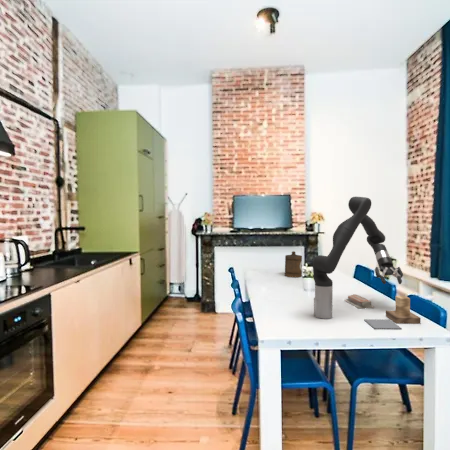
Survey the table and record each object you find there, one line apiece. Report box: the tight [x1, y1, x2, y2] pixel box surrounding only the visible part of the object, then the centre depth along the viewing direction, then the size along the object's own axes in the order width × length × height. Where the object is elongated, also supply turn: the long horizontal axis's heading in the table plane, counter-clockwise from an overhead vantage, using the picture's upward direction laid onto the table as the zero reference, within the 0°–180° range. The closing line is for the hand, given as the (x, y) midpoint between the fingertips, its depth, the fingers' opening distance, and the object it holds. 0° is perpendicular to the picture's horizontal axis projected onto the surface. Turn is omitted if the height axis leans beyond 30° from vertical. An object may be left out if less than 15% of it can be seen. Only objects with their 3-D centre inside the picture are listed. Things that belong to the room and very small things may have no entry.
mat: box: [364, 318, 402, 330], centre depth 166 cm, size 13×13×1 cm
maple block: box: [394, 295, 411, 316], centre depth 173 cm, size 5×5×9 cm
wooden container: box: [284, 250, 303, 278], centre depth 294 cm, size 15×15×22 cm
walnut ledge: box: [385, 310, 421, 325], centre depth 174 cm, size 12×12×3 cm
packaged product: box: [344, 294, 375, 310], centre depth 203 cm, size 18×5×10 cm
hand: (392, 283), depth 184 cm, fingers open, 8 cm apart
